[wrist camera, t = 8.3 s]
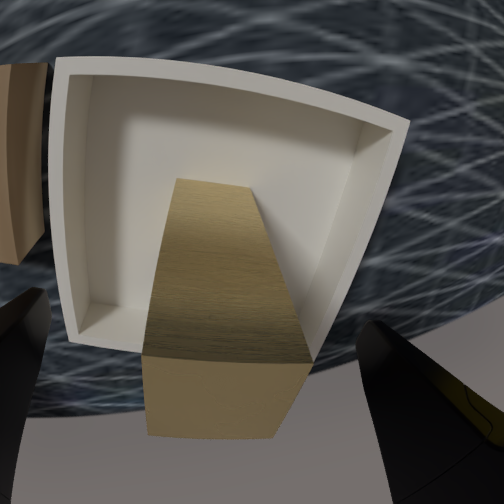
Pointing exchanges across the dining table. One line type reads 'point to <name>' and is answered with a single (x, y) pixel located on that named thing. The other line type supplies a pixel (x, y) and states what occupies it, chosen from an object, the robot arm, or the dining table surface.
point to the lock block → (21, 159)
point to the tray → (209, 170)
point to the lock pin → (219, 322)
